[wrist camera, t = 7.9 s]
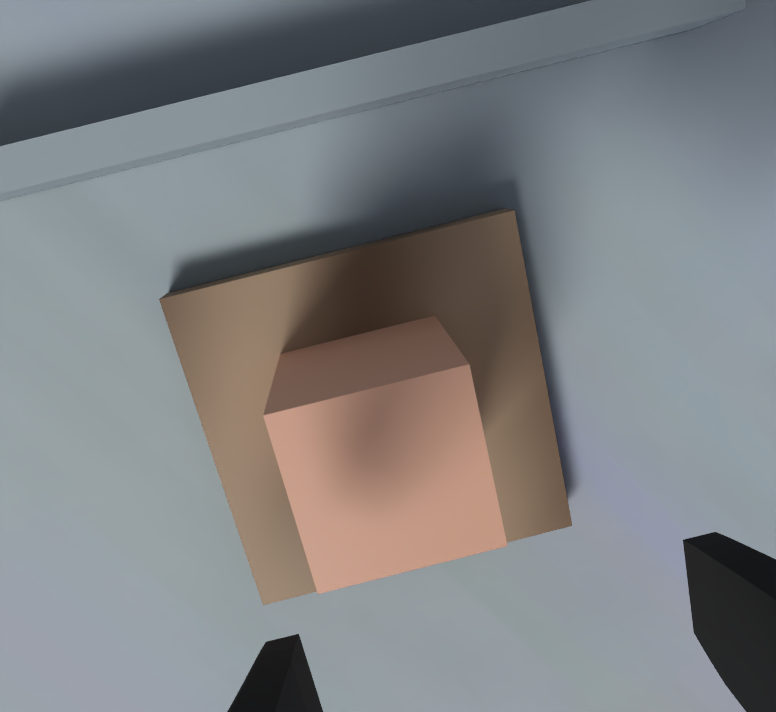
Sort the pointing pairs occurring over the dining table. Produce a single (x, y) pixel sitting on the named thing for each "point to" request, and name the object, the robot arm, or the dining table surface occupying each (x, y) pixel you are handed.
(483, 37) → the low wall
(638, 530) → the dining table surface
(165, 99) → the dining table surface
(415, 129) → the dining table surface
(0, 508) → the dining table surface
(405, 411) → the terracotta block
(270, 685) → the robot arm
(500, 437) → the walnut pad
